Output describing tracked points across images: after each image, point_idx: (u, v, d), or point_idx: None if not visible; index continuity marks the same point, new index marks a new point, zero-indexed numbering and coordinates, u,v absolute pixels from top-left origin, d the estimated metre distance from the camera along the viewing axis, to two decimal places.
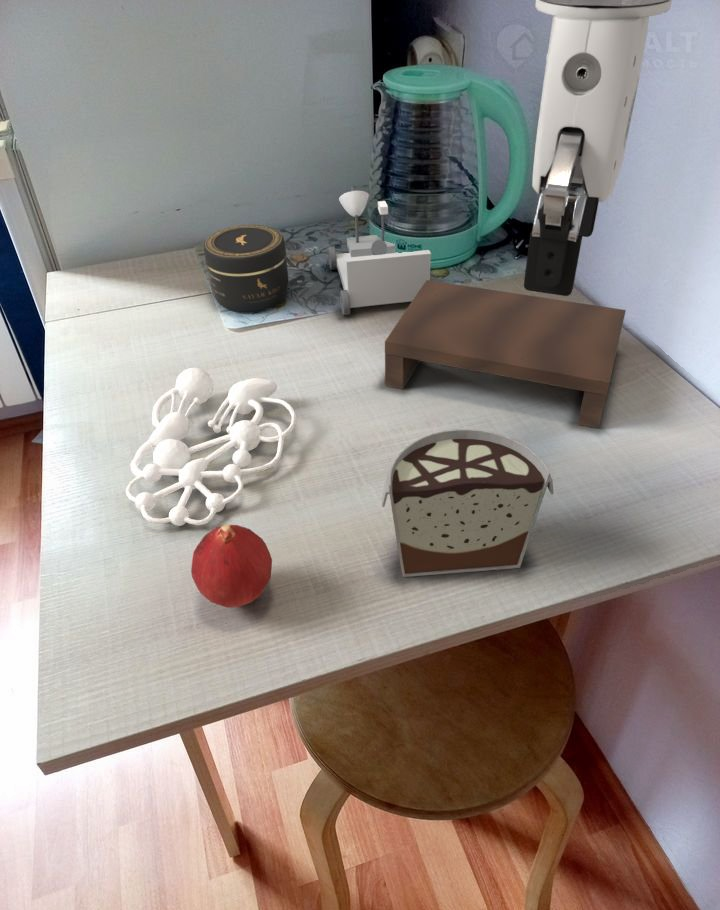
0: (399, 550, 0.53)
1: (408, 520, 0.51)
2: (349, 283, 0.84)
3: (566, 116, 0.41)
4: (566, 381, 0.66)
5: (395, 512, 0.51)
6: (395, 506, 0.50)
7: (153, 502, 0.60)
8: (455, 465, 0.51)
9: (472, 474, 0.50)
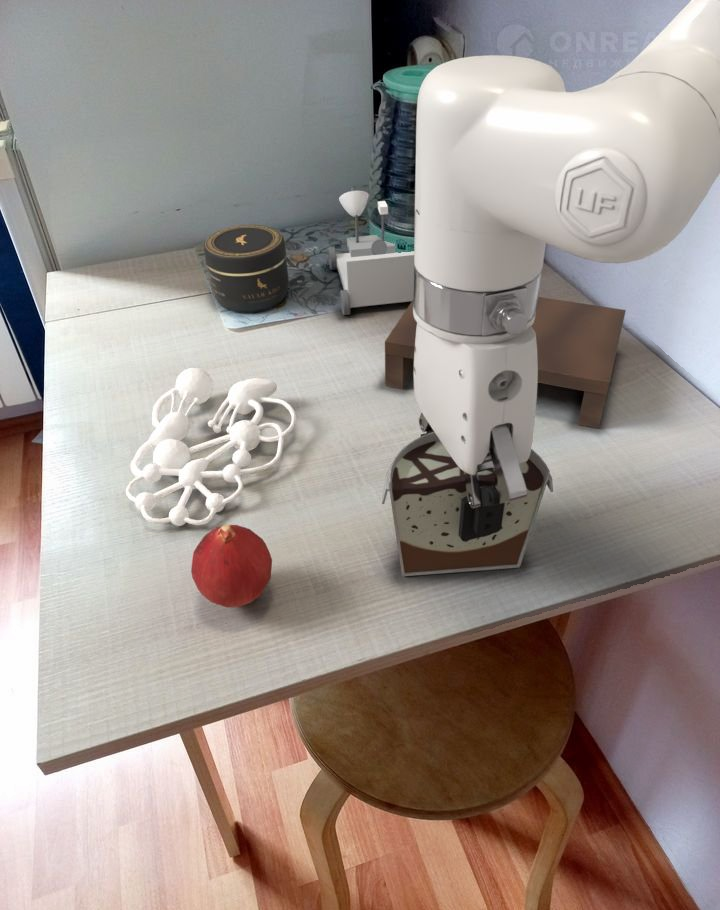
0: (399, 549, 0.53)
1: (408, 517, 0.51)
2: (349, 283, 0.84)
3: (496, 424, 0.43)
4: (566, 381, 0.66)
5: (395, 510, 0.51)
6: (395, 503, 0.50)
7: (153, 502, 0.60)
8: (455, 463, 0.51)
9: None
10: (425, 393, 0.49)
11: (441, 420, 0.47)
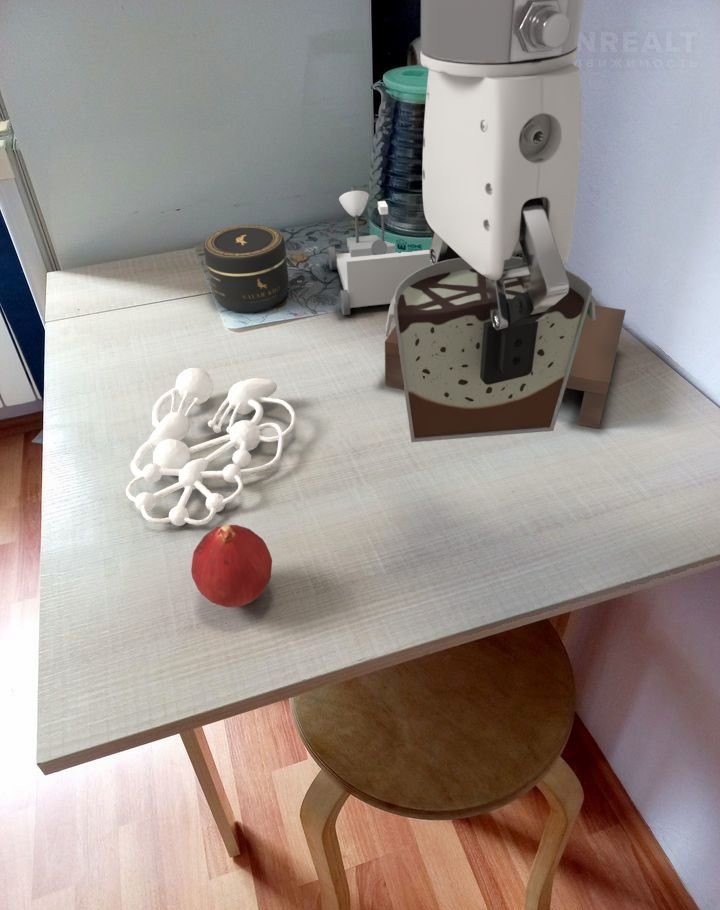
0: (407, 402, 0.44)
1: (418, 357, 0.42)
2: (349, 283, 0.84)
3: (529, 197, 0.34)
4: None
5: (401, 346, 0.42)
6: (401, 336, 0.41)
7: (153, 502, 0.60)
8: (474, 290, 0.42)
9: None
10: (437, 193, 0.40)
11: (457, 216, 0.38)
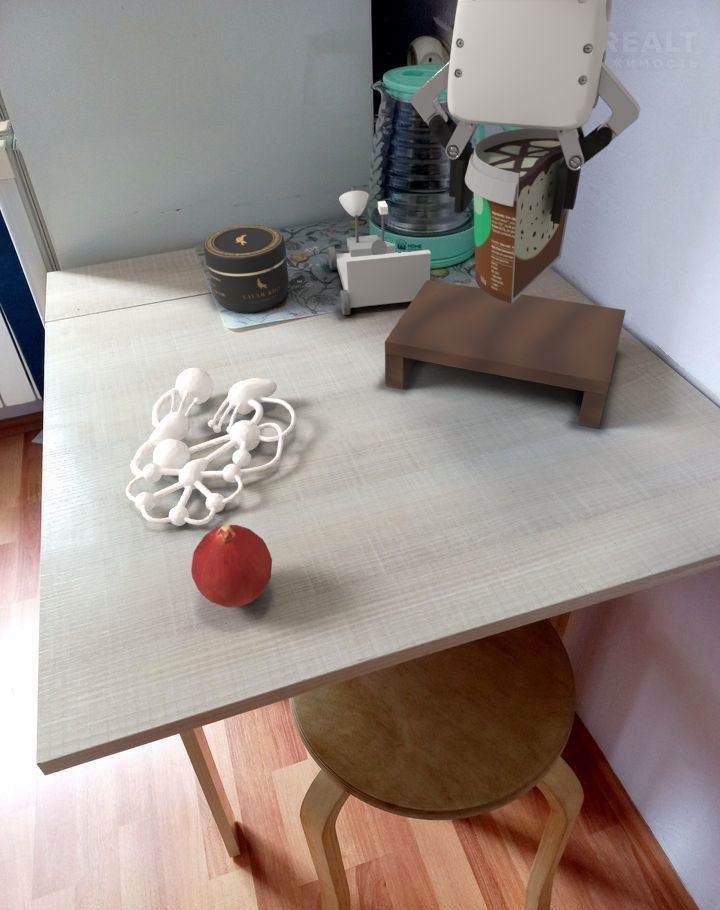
0: (514, 266, 0.52)
1: (521, 220, 0.50)
2: (349, 283, 0.84)
3: None
4: (566, 381, 0.66)
5: (515, 213, 0.49)
6: (517, 204, 0.48)
7: (153, 502, 0.60)
8: (517, 158, 0.51)
9: (539, 154, 0.51)
10: (493, 80, 0.47)
11: (534, 88, 0.47)
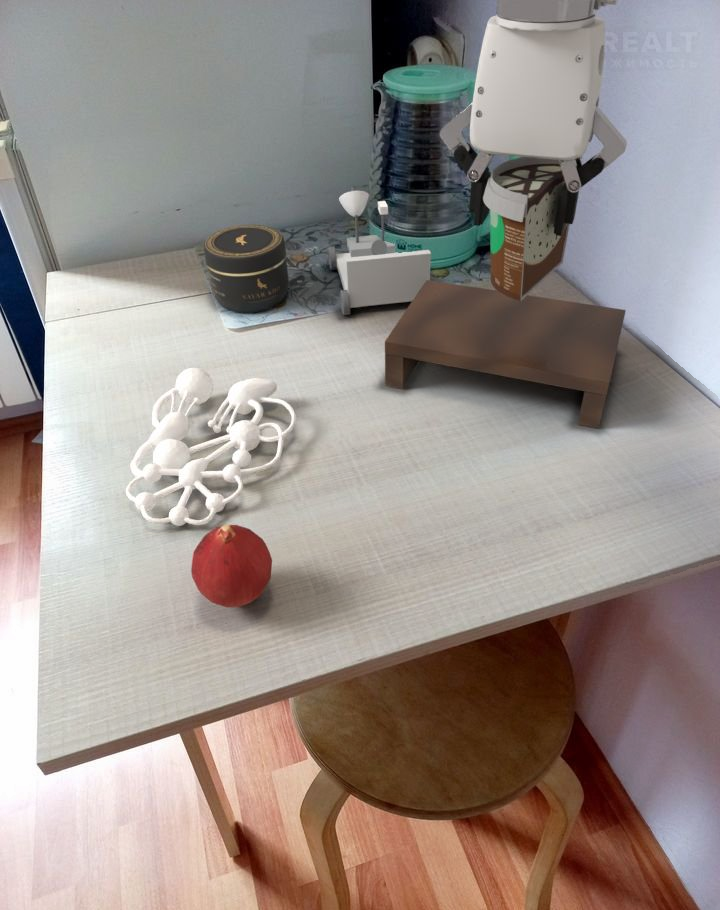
0: (522, 270, 0.63)
1: (529, 233, 0.61)
2: (349, 283, 0.84)
3: (598, 97, 0.57)
4: (566, 381, 0.66)
5: (524, 227, 0.60)
6: (526, 220, 0.60)
7: (153, 502, 0.60)
8: (526, 181, 0.63)
9: (544, 178, 0.62)
10: (507, 120, 0.58)
11: (540, 127, 0.58)
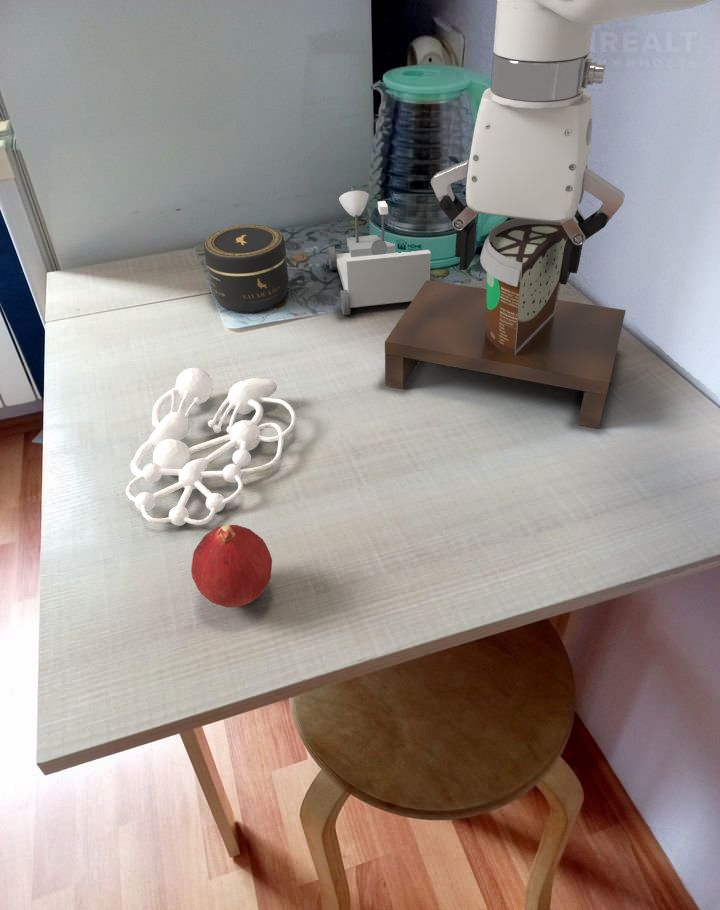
0: (517, 328, 0.66)
1: (523, 294, 0.65)
2: (349, 283, 0.84)
3: (586, 160, 0.60)
4: (566, 381, 0.66)
5: (519, 290, 0.64)
6: (520, 284, 0.63)
7: (153, 502, 0.60)
8: (521, 244, 0.66)
9: (538, 241, 0.66)
10: (501, 185, 0.62)
11: (532, 192, 0.61)
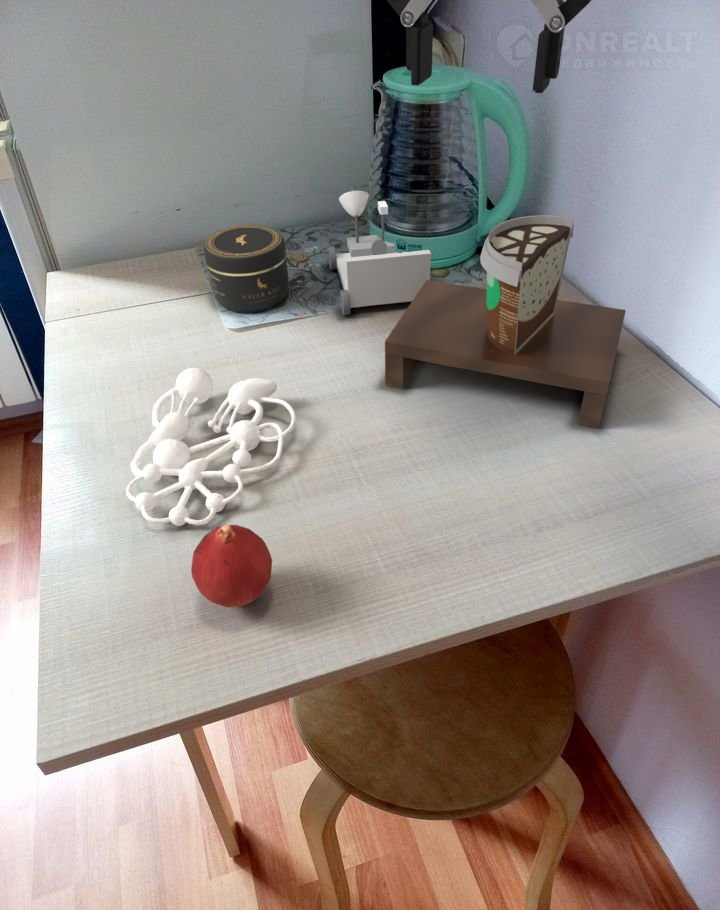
0: (517, 328, 0.66)
1: (523, 294, 0.65)
2: (349, 283, 0.84)
3: None
4: (566, 381, 0.66)
5: (519, 290, 0.64)
6: (520, 284, 0.63)
7: (153, 502, 0.60)
8: (521, 244, 0.66)
9: (538, 241, 0.66)
10: None
11: None
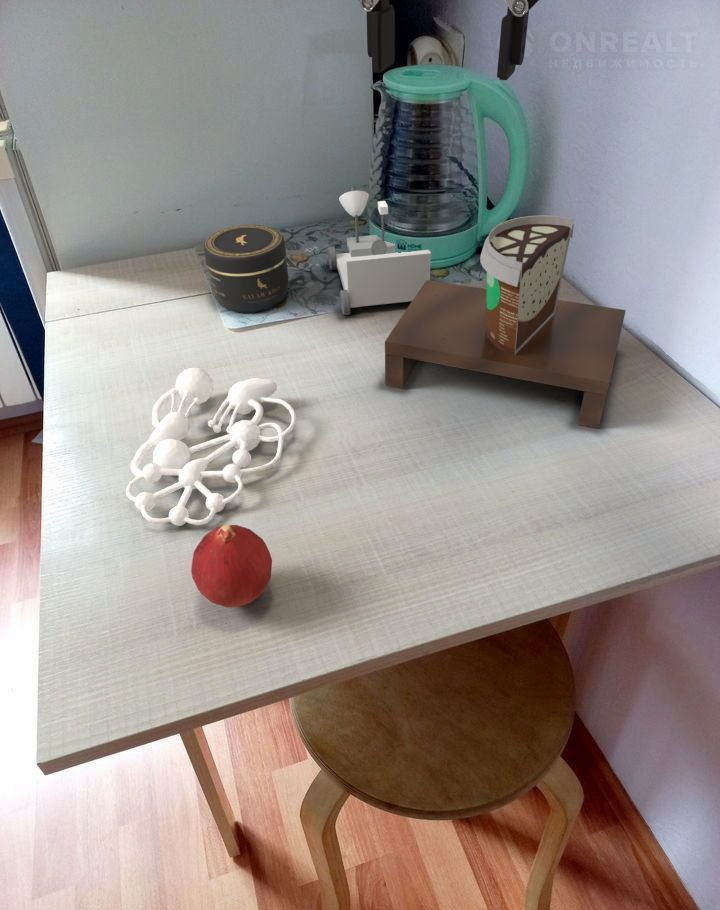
0: (517, 328, 0.66)
1: (523, 294, 0.65)
2: (349, 283, 0.84)
3: None
4: (566, 381, 0.66)
5: (519, 290, 0.64)
6: (520, 284, 0.63)
7: (153, 502, 0.60)
8: (521, 244, 0.66)
9: (538, 241, 0.66)
10: None
11: None
